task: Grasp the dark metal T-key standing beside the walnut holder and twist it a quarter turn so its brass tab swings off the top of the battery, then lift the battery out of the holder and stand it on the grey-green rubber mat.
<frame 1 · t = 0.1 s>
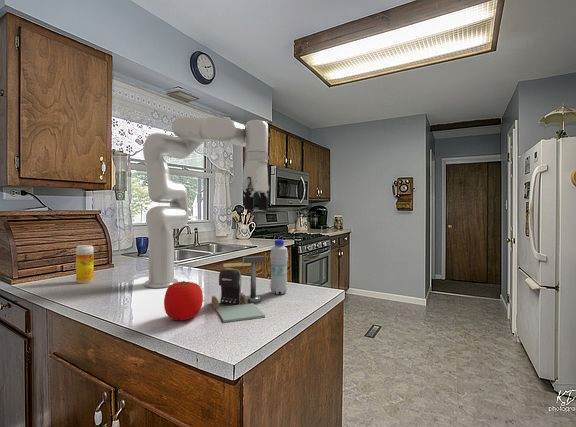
hand: (256, 209, 106), 31 cm above the counter, tool pointing down, fingers open, 9 cm apart
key: (244, 277, 105), point 8 cm above the counter, hinge at 0.0°
holder: (229, 304, 103), on the counter
mat: (239, 313, 95), on the counter
bottle: (278, 293, 117), on the counter
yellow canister: (85, 282, 130), on the counter
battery: (229, 304, 103), on the counter
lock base: (253, 301, 106), on the counter
tomato: (183, 319, 90), on the counter
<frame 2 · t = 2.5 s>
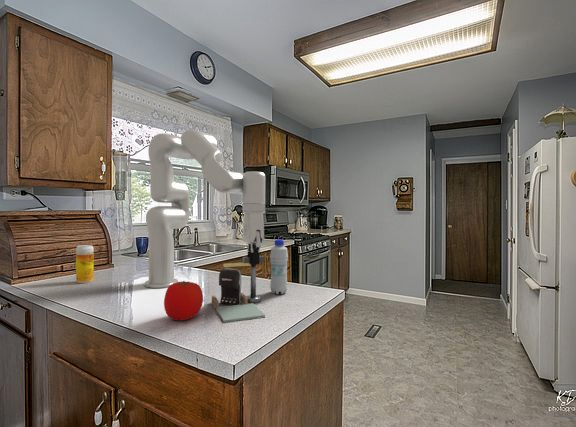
hand: (253, 263, 106), 13 cm above the counter, tool pointing down, fingers closed on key, 2 cm apart
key: (244, 277, 105), point 8 cm above the counter, hinge at 0.0°, touching gripper
everything else where it was.
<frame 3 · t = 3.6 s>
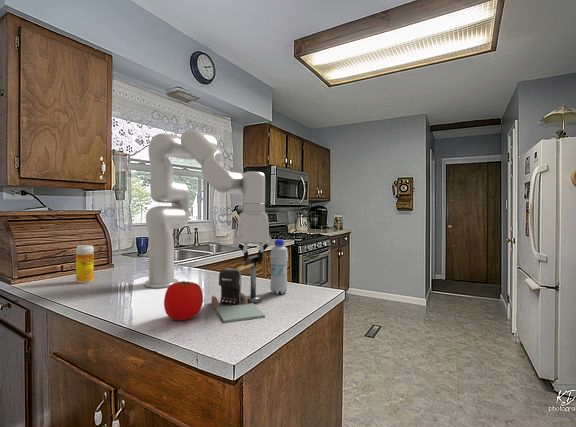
hand: (253, 263, 106), 13 cm above the counter, tool pointing down, fingers closed on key, 3 cm apart
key: (248, 278, 103), point 8 cm above the counter, hinge at 46.5°, touching gripper
everything else where it was.
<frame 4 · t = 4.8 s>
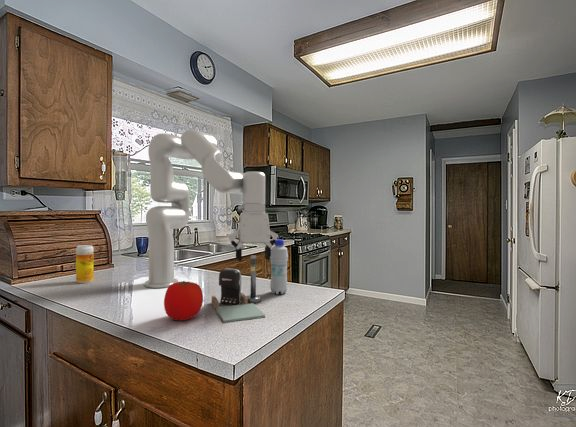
hand: (253, 259, 106), 14 cm above the counter, tool pointing down, fingers open, 9 cm apart
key: (253, 279, 103), point 8 cm above the counter, hinge at 72.5°
everything else where it was.
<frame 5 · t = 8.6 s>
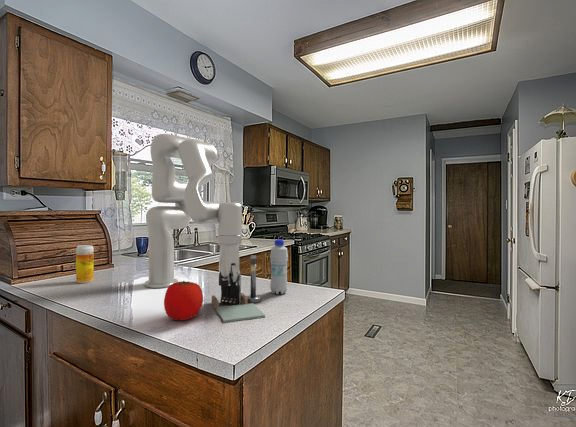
hand: (229, 294, 103), 3 cm above the counter, tool pointing down, fingers closed on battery, 6 cm apart
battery: (229, 304, 103), on the counter, touching gripper
everything else where it was.
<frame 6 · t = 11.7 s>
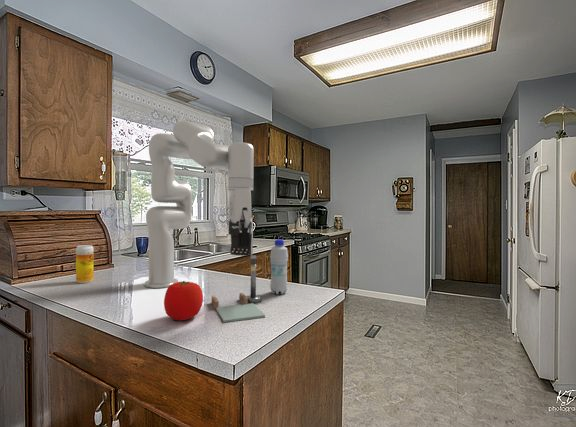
hand: (240, 244, 94), 21 cm above the counter, tool pointing down, fingers closed on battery, 6 cm apart
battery: (240, 255, 94), point 17 cm above the counter, touching gripper
everything else where it was.
when the fingers open (5 cm above the counter, at t = 14.9 s): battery drops 1 cm, resting on mat.
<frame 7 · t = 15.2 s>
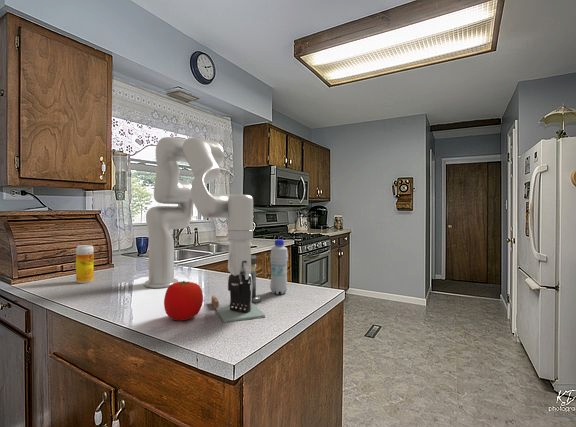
hand: (239, 293, 95), 6 cm above the counter, tool pointing down, fingers open, 9 cm apart
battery: (239, 311, 95), point 1 cm above the counter, touching mat
everything else where it was.
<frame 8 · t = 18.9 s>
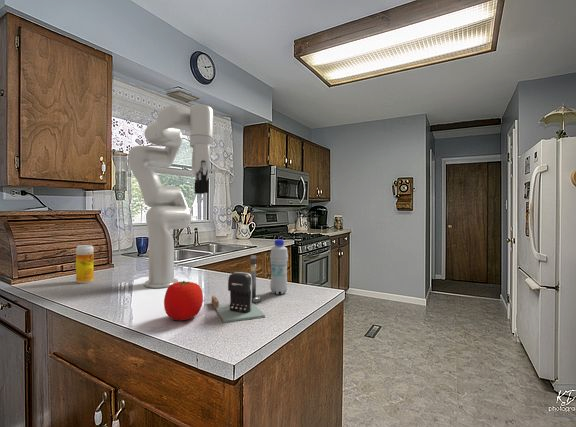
hand: (201, 193, 107), 36 cm above the counter, tool pointing down, fingers open, 9 cm apart
nothing on the counter moved.
at the end: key at +73° (first picture: +0°); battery inside the target area on the mat (0.0 cm from its centre), point 0.4 cm above the mat's base; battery tilted 0° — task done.
